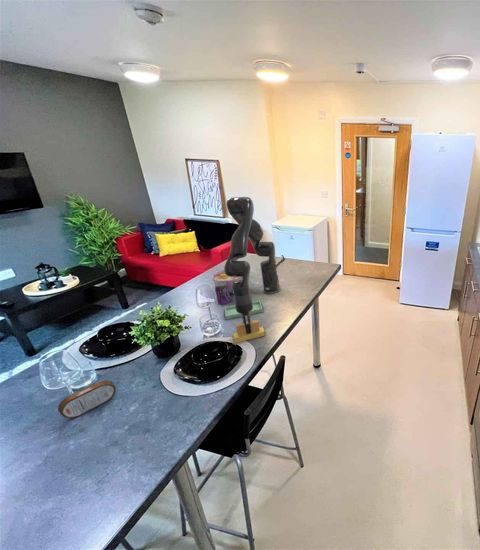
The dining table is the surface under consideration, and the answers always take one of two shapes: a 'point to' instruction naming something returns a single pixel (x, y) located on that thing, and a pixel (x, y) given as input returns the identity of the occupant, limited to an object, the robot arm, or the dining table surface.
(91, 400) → the tin
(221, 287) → the beverage can
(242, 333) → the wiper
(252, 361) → the dining table surface
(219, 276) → the bowl of food
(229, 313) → the tray
